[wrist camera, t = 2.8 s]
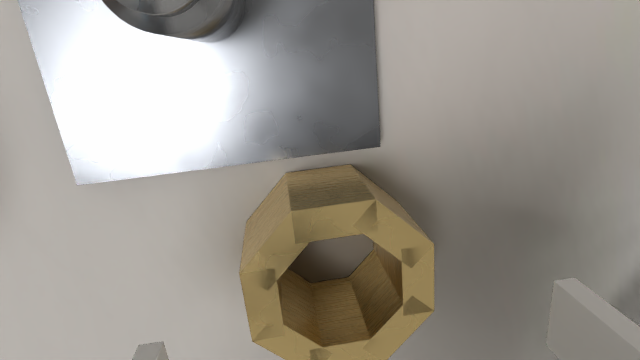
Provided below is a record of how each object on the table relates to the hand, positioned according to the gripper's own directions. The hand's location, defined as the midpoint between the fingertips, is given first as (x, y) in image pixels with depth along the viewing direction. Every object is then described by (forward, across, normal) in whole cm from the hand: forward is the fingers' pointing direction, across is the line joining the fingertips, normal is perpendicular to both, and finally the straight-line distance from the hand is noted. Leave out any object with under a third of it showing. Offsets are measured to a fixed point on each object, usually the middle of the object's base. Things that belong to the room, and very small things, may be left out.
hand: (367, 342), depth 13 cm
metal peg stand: (+8, -4, +12) cm, 15 cm away
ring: (+8, 0, 0) cm, 8 cm away
